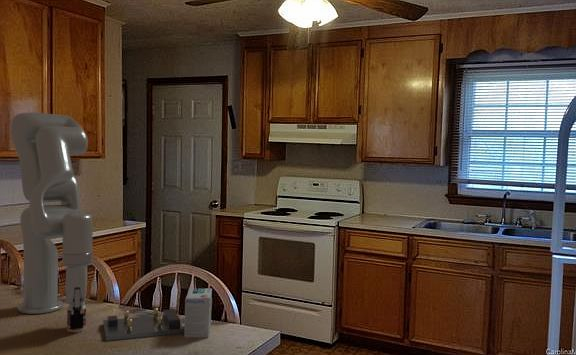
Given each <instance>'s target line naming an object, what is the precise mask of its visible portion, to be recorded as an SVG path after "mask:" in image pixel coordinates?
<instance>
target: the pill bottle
mask: <svg viewBox="0 0 576 355" xmlns="http://www.w3.org/2000/svg"><path fill="white" fill-rule="evenodd" d="M73 302H75V300H73ZM80 302H81V300H80ZM71 303H72V301H71V302H70V303H68V307H67V308H66V309H67V310H66V311H67V312H66V313H67V314H66V322H67V323H66V330H67V331H68V332H71V333H80V332H83V331H86V328H87V324H86V323H87V321H86V320H87V306H86V305H85V303H86V301H85V302H84V303H83V305H82V313H83V328H80V329H70V314H71V309H72V304H71ZM74 306H75V305H74Z"/></svg>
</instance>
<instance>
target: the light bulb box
mask: <svg viewBox="0 0 576 355" xmlns="http://www.w3.org/2000/svg"><path fill="white" fill-rule="evenodd" d="M212 291H213V289H212V288H201V287H200V288H194V287H193V288H190V287H189V288H188V290H187V294H186V297H184V298H185V299H184V327H183V328H184V333H183V335H184V336H183V337H184V338H186V339H187V338H191V339H192V338H204V339H205V338H209V336H210V330H211V325H212V323H211V322H212V295H213V294H212V293H213V292H212Z"/></svg>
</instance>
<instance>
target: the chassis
mask: <svg viewBox="0 0 576 355" xmlns="http://www.w3.org/2000/svg"><path fill="white" fill-rule="evenodd" d="M158 311H159V308H157V307H154V308H153V314H152V315H150V316H149V315H148V316H136V317H130V314H129V313H130V312H129V310H128V309H126V310H124V312H123V313H124V315H123V317H124V318H118V316H117V315H108V316H107V319H104V320H103V321H102V324H103V331H104V336H105V340H106V342H109V341H121V340H128V339H139V338H149V337H161V336H169V335H180V334H184V328H185V327H184V326H183V325H182V323H181V319H180V317H179V316H178V314H177V312H176V311H175V309H164V310H163V311H162V314H161V315H159V312H158Z"/></svg>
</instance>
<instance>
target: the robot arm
mask: <svg viewBox="0 0 576 355" xmlns="http://www.w3.org/2000/svg"><path fill="white" fill-rule="evenodd" d="M10 138H11V140H12V144H13V146H14V149H15V152H16V153H17V156H18V159H19V168H20V177H21V186H22V188H21V189H22V193H23V196H24V198H25V199H26V200H27V201H29V206H28V207H27V208H26V209H24V210H23V211H22V213H21V214H20V220H19V221H20V222H19V223H20V228H21V233H22V234H21V235H22V242H23V281H22V282H23V291H22V292H23V295H22V300H23V302H21V303H19V304H18V305H17V311H18V312H19V313H22V314H27V315H28V314H29V315H30V314H32V315H34V314H37V315H38V314H46V313H51V312H55V311H58V310H61V309H62V308H63V307H64V306H63V305H64V302H63V301H62V300H59V299H58V294H59V293H58V290H59V289H58V285H59V284H58V283H59V280H58V278H59V277H58V276H59V273H58V272H59V260H58V259H59V251H58V247H57V246H56V245H55V243H54V242H53V241H52V240H51V239H56V238H62V252H61V253H62V254H61V255H62V260H61V262H62V266H63V267H65V303H66V305H69V303H70V302H71V301H72V303H71V304H72V309H71V314H70V329H80V328H83V313H82V305H83V303H84V302H85V303H86V296H87V288H88V287H87V286H88V285H87V284H88V266H91V265H92V264H93V227H94V226H93V225H94V224H93V222H94V220H93V216H92V214H90V213H85V212H84V211H82V207H81V198H80V197H81V196H80V189H79V183H78V179H77V178H76V176H75V175H74V169H73V164H72V160H71V159H72V158H71V156H75V155H76V156H79V155H80V156H81V155H83V154H85V153H86V152H87V150H88V146H89V140H88V136H87V133H86V131H85V130H84V128H83V127H82V126H81V124H79V123H78V122H77V121H76V120H74V119H73V117H71V116H69V115H64V114H56V113H55V114H54V113H44V112H22V113H21V112H20V113H18V114H16V115H15V116H14V117H12V120H11V123H10ZM45 202H60V204H46V205H45V204H44V203H45ZM73 300H75V302H73ZM80 300H81V302H80ZM74 305H75V306H74Z"/></svg>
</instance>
